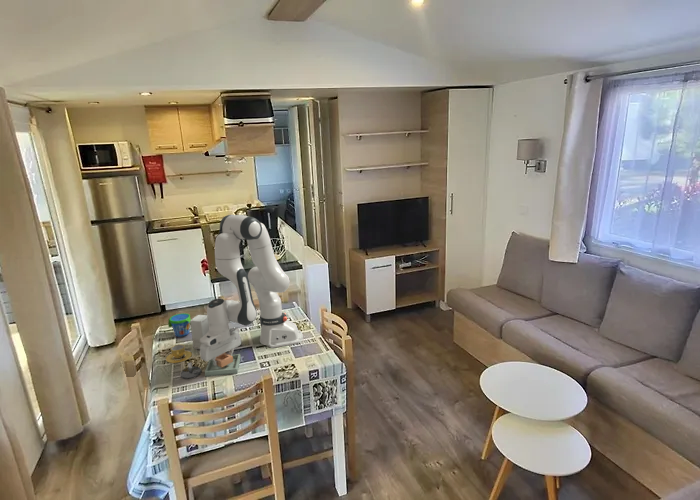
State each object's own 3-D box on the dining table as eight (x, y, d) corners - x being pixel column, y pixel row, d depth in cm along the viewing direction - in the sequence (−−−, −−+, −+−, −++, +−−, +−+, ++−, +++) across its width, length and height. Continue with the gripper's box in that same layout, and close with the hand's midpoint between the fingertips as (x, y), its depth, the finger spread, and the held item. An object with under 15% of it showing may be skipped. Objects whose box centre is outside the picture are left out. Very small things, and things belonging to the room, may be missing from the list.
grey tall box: (204, 350, 216) (200, 321, 212) (192, 349, 217) (188, 320, 213) (212, 342, 224) (209, 314, 220) (201, 341, 225) (197, 314, 221)
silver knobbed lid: (203, 367, 200) (202, 357, 198) (199, 378, 191) (197, 367, 190) (183, 369, 198) (181, 359, 197) (178, 379, 190) (176, 369, 188)
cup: (166, 354, 213) (164, 344, 212) (191, 349, 217) (190, 339, 216) (165, 365, 202) (163, 355, 201) (192, 360, 206) (190, 350, 205)
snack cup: (164, 335, 233) (161, 318, 230) (179, 327, 242) (177, 311, 239) (185, 341, 226) (182, 323, 223) (200, 332, 235) (197, 315, 233)
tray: (240, 358, 207) (240, 353, 206) (237, 373, 193) (236, 369, 193) (210, 361, 205) (210, 356, 204) (205, 376, 192) (204, 372, 191)
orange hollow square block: (224, 357, 203) (224, 352, 202) (233, 361, 199) (232, 356, 198) (213, 363, 198) (212, 357, 197) (221, 367, 194) (221, 362, 194)
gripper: (233, 324, 205) (236, 350, 208) (196, 340, 189) (200, 368, 193) (242, 327, 201) (245, 353, 204) (204, 344, 185) (208, 373, 189)
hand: (223, 361), depth 198 cm, fingers closed on orange hollow square block, 6 cm apart
